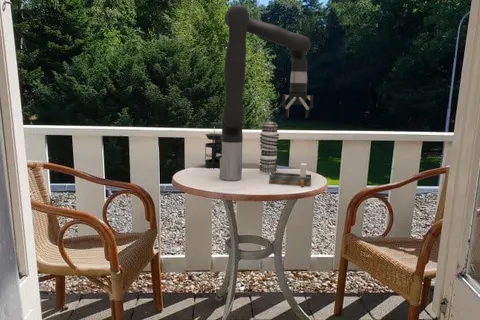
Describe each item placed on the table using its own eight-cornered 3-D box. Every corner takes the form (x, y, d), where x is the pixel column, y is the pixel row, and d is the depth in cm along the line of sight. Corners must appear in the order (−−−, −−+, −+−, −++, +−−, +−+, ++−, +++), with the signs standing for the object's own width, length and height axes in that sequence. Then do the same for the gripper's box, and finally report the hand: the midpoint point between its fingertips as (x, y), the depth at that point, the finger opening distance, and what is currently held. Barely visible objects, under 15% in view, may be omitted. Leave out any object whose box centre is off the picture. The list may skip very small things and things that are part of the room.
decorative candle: (276, 175, 202) (279, 123, 197) (257, 174, 203) (259, 122, 198) (278, 171, 210) (280, 121, 206) (259, 170, 212) (261, 120, 207)
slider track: (268, 184, 183) (268, 176, 182) (271, 179, 193) (271, 171, 193) (310, 187, 179) (310, 179, 179) (310, 181, 190) (311, 174, 189)
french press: (202, 168, 213) (202, 123, 208) (204, 164, 222) (204, 121, 218) (225, 169, 213) (226, 123, 208) (226, 165, 222) (227, 122, 218)
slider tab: (296, 180, 184) (297, 164, 183) (297, 178, 189) (298, 162, 187) (308, 181, 183) (309, 165, 182) (308, 178, 188) (309, 163, 186)
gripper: (314, 82, 193) (312, 117, 197) (283, 81, 196) (282, 116, 199) (314, 82, 186) (312, 118, 189) (282, 81, 189) (280, 117, 192)
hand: (296, 117), depth 194 cm, fingers open, 8 cm apart
